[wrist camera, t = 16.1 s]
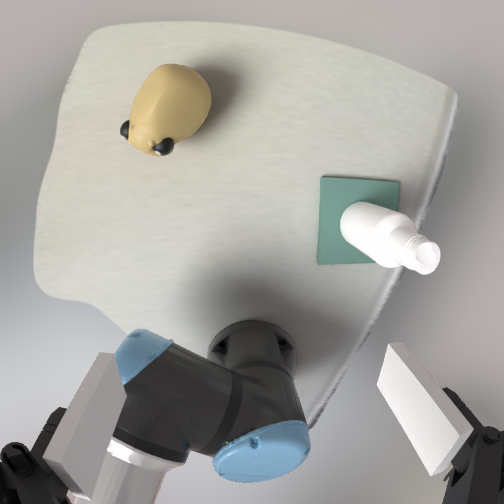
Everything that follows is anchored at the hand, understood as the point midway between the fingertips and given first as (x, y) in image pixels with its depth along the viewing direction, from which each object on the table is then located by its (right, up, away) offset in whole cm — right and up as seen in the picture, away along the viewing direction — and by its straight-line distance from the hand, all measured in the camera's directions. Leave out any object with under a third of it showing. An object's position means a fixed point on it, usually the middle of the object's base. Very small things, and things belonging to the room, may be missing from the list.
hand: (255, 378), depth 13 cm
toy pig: (-11, +25, +25) cm, 37 cm away
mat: (+16, +10, +31) cm, 37 cm away
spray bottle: (+16, +10, +30) cm, 36 cm away
